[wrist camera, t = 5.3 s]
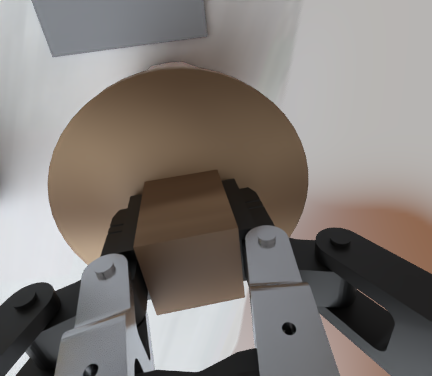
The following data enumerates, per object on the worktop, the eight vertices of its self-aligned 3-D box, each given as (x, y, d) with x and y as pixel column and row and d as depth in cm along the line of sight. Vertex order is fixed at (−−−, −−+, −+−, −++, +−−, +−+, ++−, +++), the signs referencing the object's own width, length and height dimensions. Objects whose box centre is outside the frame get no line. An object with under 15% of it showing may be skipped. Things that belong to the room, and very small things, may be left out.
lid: (6, 89, 10) (-124, 132, 5) (304, 47, 11) (398, 55, 6) (104, 296, 15) (78, 399, 11) (295, 258, 16) (342, 341, 12)
